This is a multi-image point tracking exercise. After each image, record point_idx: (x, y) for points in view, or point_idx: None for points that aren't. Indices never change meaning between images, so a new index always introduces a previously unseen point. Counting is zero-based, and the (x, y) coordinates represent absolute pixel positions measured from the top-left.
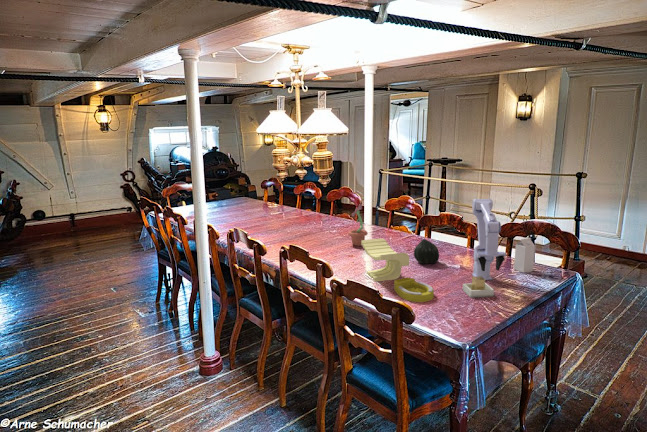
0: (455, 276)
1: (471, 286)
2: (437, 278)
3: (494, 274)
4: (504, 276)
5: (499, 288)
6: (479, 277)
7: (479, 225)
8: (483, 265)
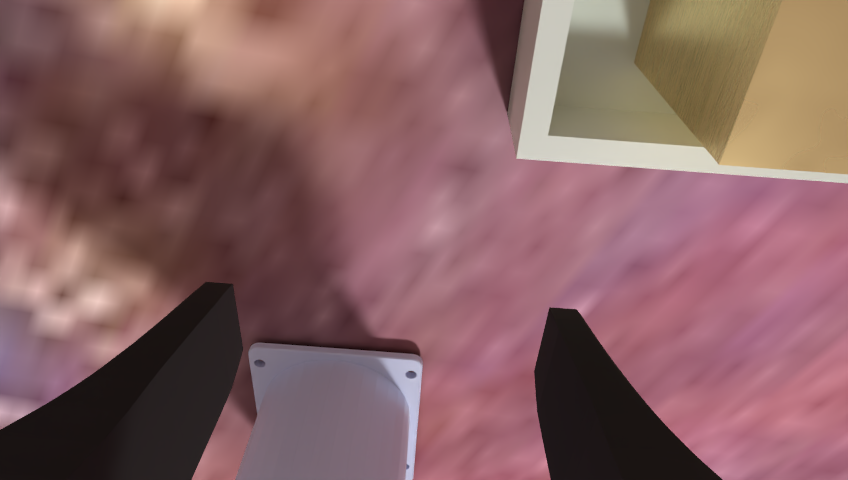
0: None
1: None
2: (811, 465)
3: None
4: None
5: (283, 90)
6: (823, 97)
7: None
8: (645, 415)
